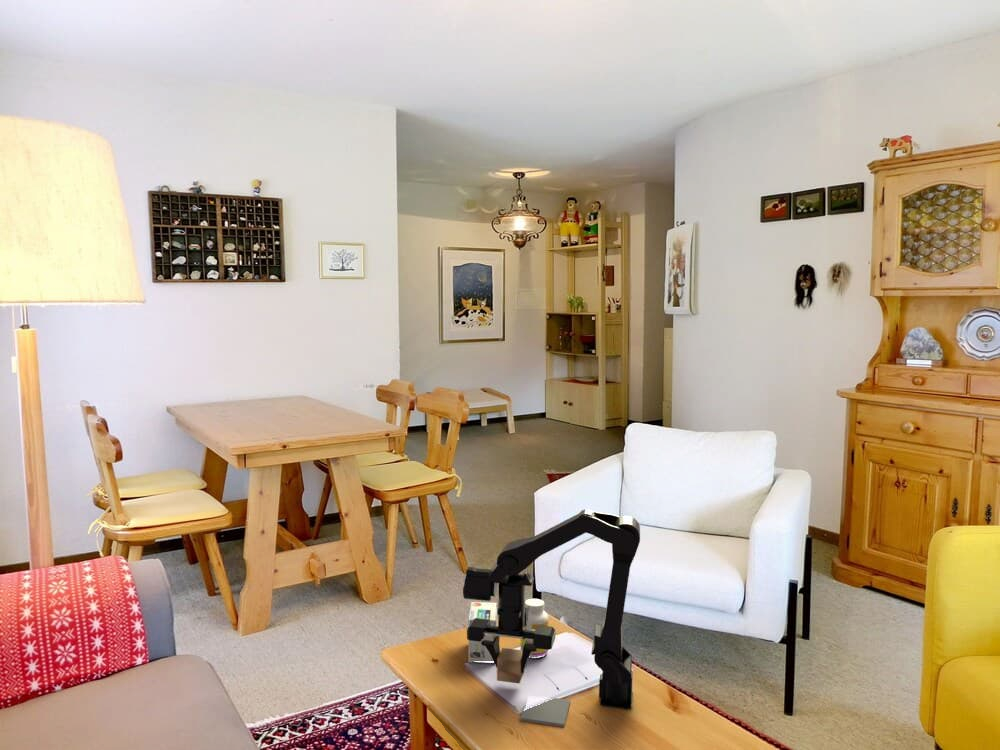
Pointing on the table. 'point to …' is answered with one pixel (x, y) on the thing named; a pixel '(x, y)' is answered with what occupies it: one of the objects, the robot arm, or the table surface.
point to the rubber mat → (548, 712)
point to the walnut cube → (509, 665)
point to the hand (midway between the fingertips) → (510, 670)
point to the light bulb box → (490, 613)
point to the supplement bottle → (535, 621)
